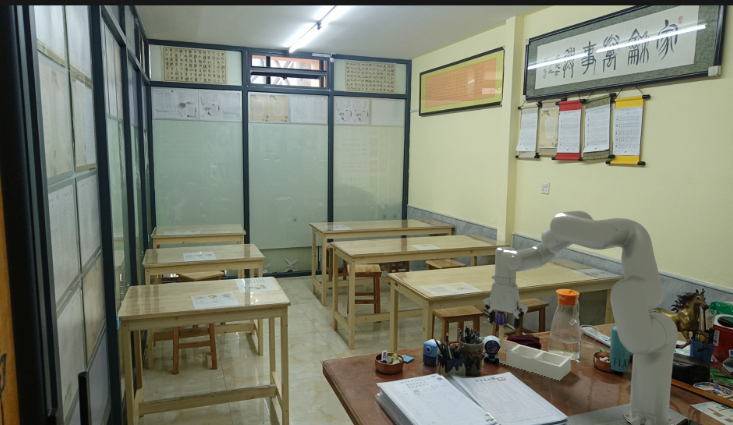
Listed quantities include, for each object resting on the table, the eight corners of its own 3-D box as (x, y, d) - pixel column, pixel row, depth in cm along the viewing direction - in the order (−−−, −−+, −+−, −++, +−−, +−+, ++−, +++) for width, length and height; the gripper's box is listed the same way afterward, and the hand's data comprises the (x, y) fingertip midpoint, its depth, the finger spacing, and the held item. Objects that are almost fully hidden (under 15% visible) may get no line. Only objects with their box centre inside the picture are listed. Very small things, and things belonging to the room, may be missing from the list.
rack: (559, 381, 160) (559, 366, 160) (483, 359, 179) (483, 345, 178) (569, 371, 168) (570, 357, 168) (496, 350, 187) (496, 337, 186)
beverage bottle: (610, 374, 166) (613, 319, 164) (606, 367, 172) (609, 313, 170) (631, 377, 164) (634, 320, 162) (626, 369, 170) (630, 314, 168)
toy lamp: (498, 358, 177) (499, 314, 175) (491, 353, 181) (492, 311, 180) (509, 357, 178) (510, 313, 177) (502, 352, 183) (503, 310, 181)
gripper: (479, 278, 179) (478, 322, 181) (523, 285, 168) (522, 333, 170) (488, 275, 185) (487, 318, 187) (532, 282, 174) (531, 327, 175)
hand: (504, 325), depth 178 cm, fingers open, 9 cm apart
